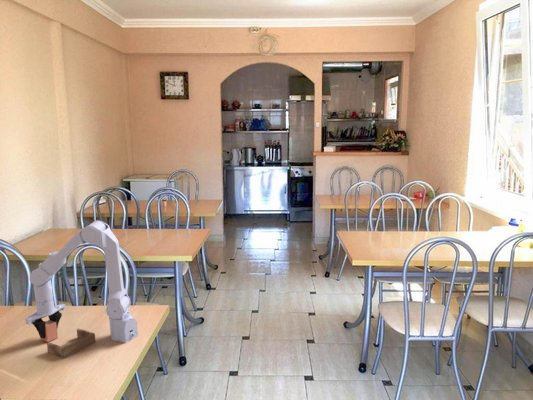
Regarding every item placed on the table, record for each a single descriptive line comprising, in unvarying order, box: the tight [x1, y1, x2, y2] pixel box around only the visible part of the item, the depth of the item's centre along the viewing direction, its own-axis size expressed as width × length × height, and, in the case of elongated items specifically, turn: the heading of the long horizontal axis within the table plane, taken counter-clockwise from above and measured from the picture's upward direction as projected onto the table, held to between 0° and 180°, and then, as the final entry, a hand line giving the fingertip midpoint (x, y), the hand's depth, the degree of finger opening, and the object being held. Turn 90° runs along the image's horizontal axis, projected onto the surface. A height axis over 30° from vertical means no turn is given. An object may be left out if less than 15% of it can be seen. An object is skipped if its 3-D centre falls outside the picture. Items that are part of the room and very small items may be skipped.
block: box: [40, 319, 59, 343], centre depth 164 cm, size 4×4×6 cm
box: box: [46, 328, 96, 359], centre depth 158 cm, size 9×13×4 cm
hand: (48, 335), depth 164 cm, fingers closed on block, 4 cm apart
